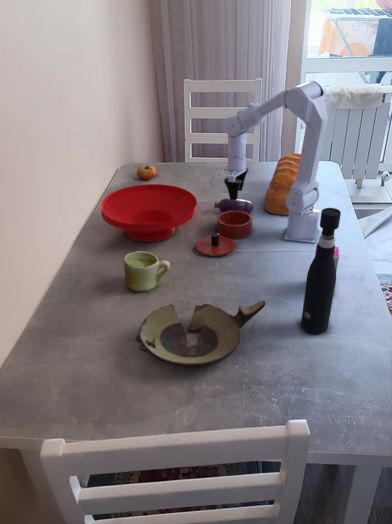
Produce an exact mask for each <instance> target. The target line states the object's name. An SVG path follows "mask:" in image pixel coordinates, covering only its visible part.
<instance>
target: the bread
mask: <svg viewBox="0 0 392 524" xmlns="http://www.w3.org/2000/svg"><path fill="white" fill-rule="evenodd" d="M300 157H301V153H298V152H291V153H289V154H286V155H284V156H282V157H280V158H279V159H278V161H277V164H276V167H275V168H274V172H273V174H272V178H271V179H270V183H269V186H268V189H267V192H266V194H265V198H264V203H263V207H264V209H265V210H266V211H267V212H268V213H270V214H275V215H281V216H289V209H288V208H287V206H286V197H287V196H288V195H289V193H290V189H291V187H292V185H293V184H294V182H295V181H296V179H297V173H298V168H299V162H300Z"/></svg>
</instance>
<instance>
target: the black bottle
mask: <svg viewBox="0 0 392 524" xmlns="http://www.w3.org/2000/svg"><path fill="white" fill-rule="evenodd" d="M341 215H342V211H341V210H340V209H338V208H335V207H325V208H322V210H321V211H320V218H319V227H320V228H321V234H320V235H319V237H318V243H317V244H316V246H317V250H316V249H315V252H316V256H315V255H314V257H313V259H312V261H311V263H310V264H309V268H308V270H307V273H306V281H305V288H304V295H303V303H302V312H301V320H300V327H301V329H302V330H303V331H304V332H305V333H307V334H310V335H316V336H317V335H323V334H325V333H326V332H327V331H328V329H329V325H330V324H329V323H330V318H331V312H332V306H333V300H334V294H335V289H336V282H337V272H336V266H335V261H334V251H335V247H336V237H335V231H336V230H337V229H339V226H340V223H341V222H340V221H341Z"/></svg>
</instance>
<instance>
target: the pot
mask: <svg viewBox="0 0 392 524" xmlns="http://www.w3.org/2000/svg"><path fill="white" fill-rule="evenodd" d="M216 220H217V221H216V225H217V227H216V229H217V233H218V234H219V236H224V237H228V238H230V239H231V240H235V239H237V240H238V239H243V238H245V237H248V236H249V235H251V233H252V230H253V217H252V215H251V213H250V214H248V213H246V212H243V211H227V212H224V213H222V212H221V213H220V214H219V215H217V217H216Z"/></svg>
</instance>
